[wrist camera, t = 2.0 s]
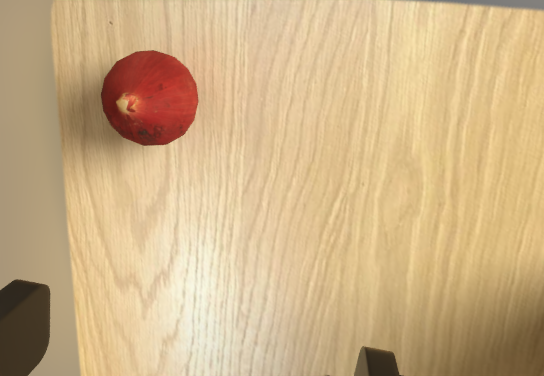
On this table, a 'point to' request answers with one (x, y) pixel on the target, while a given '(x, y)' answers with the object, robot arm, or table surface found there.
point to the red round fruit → (149, 98)
